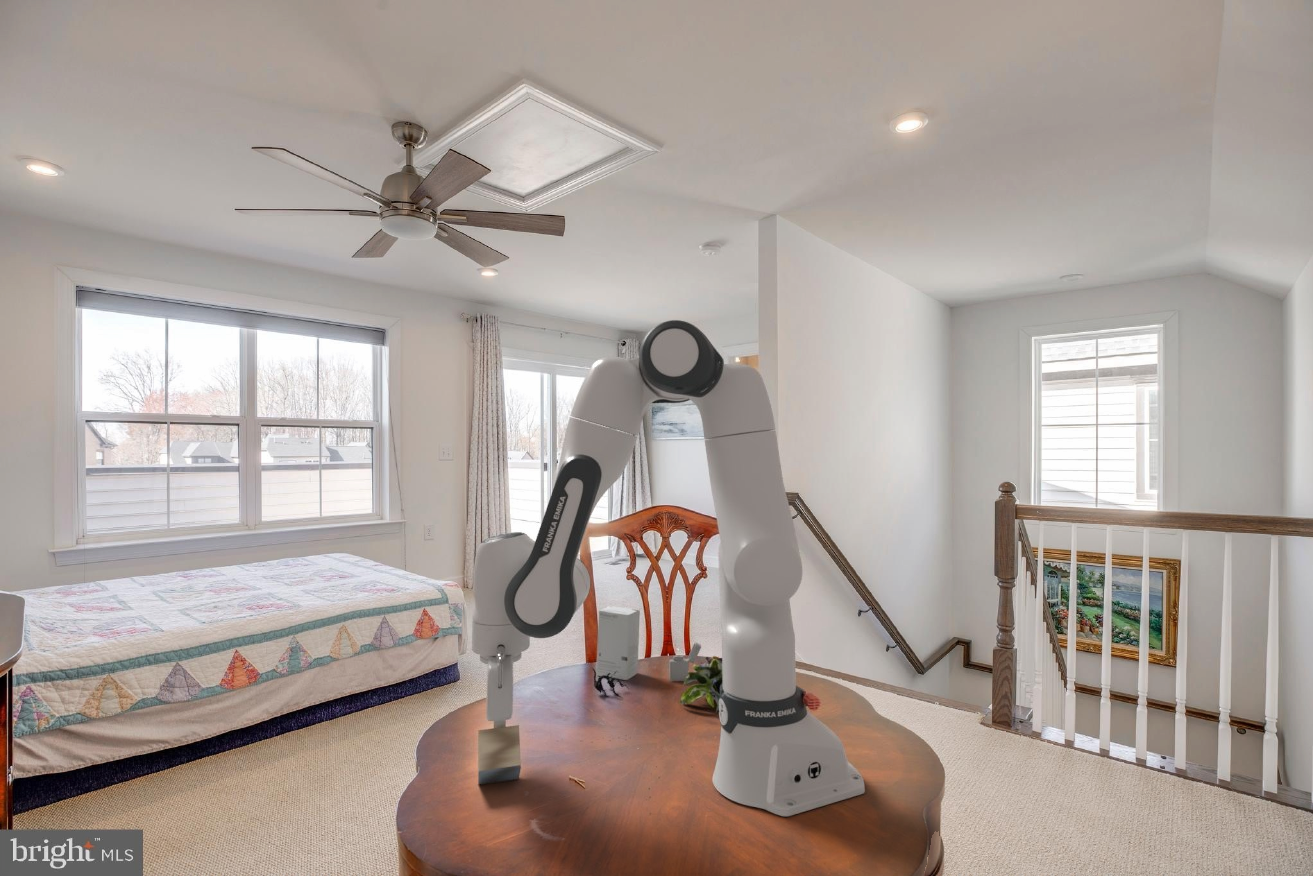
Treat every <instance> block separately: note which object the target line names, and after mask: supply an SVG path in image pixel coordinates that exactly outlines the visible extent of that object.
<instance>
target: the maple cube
mask: <svg viewBox="0 0 1313 876" xmlns="http://www.w3.org/2000/svg"><path fill="white" fill-rule="evenodd" d="M477 736H478V739H477V741H478V742H477V744H478V745H477V746H478V747H477V748H478V749H477V753H478V754H477V755H478V756H477V757H478V761H477V763H478V767H477V768H478V769H477V770H478V771H477V774H478V775H477V777H478V782H477V783H478V784H477V785H478V786H479V785H480V784H481V785H487V784H493V783H494V784H495V783H500V782H507V781H514V780H519V779H520V774H521V770H522V767H521V765H522V764H521V743H520V741H521V740H520V739H521V738H520V737H521V736H520V725H519V724H516V725H509V726H508V725H507V726H506V727H500V728H494V727H492V728H486V729H478V733H477ZM513 779H514V780H513ZM506 780H507V781H506ZM481 785H480V786H481Z"/></svg>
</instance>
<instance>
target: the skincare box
mask: <svg viewBox="0 0 1313 876" xmlns="http://www.w3.org/2000/svg"><path fill="white" fill-rule="evenodd" d="M640 612H641V611H640V610H639V609H636V608H635V609H634V608H629V607H624V606H623V607H622V606H615V605H614V606H611V605H608V606H607V607H604V608H601V609H599V610H598V621H597V622H598V623H597V624H598V626H597V627H598V628H597V646H596V647H597V648H596V668H595V672H596V677H601V676H603V675H606V676H607V674H609V673H611V674H610V675H609V677H611V676H612V677H611V678H612V679H616V680H617V679H618V680H623V681H628V680H630V679H631V678H633V677H634V676H636V675H637V674H638V672H639V671H638V670H639V645H640V643H639V642H640V641H639V640H640V615H641V613H640ZM615 672H616V673H615ZM614 675H615V676H614Z"/></svg>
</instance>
